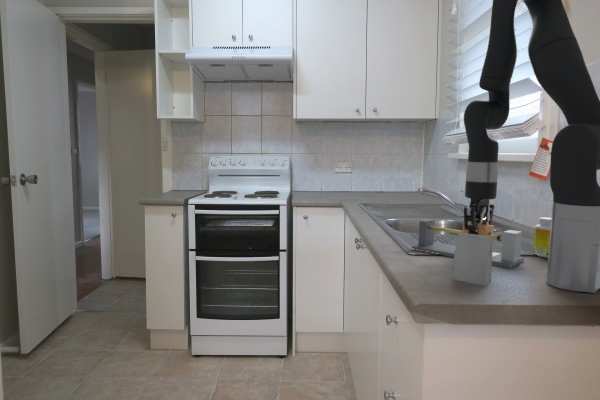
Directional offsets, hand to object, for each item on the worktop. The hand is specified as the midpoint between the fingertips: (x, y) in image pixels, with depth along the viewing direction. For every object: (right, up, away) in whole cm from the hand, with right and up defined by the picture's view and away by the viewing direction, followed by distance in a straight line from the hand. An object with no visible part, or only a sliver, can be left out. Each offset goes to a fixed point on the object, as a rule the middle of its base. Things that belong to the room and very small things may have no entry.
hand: (477, 244), depth 115 cm
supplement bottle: (+20, -4, +4) cm, 20 cm away
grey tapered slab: (-10, -6, -21) cm, 24 cm away
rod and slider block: (-2, -3, +2) cm, 5 cm away
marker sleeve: (0, 0, 0) cm, 0 cm away
